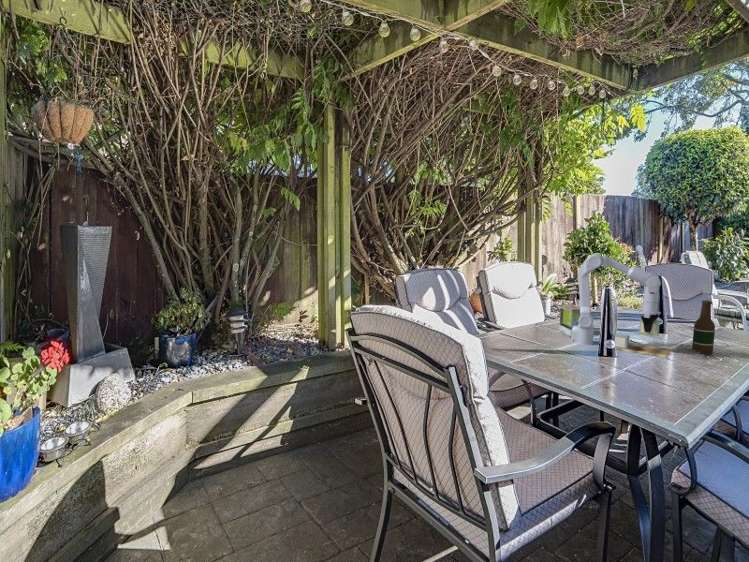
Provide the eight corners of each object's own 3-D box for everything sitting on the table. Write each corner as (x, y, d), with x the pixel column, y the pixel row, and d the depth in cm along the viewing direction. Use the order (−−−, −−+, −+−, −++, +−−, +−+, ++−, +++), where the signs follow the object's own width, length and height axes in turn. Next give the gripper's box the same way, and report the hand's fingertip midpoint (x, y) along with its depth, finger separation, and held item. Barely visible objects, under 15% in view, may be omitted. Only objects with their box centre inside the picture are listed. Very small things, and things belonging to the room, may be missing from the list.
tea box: (589, 337, 233) (591, 309, 232) (570, 337, 233) (571, 309, 232) (576, 330, 248) (578, 304, 247) (558, 330, 248) (560, 304, 247)
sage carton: (638, 334, 205) (639, 320, 204) (641, 332, 208) (642, 318, 208) (656, 336, 200) (657, 322, 200) (658, 334, 204) (659, 320, 203)
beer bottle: (690, 352, 204) (694, 300, 201) (693, 349, 210) (697, 298, 207) (711, 356, 199) (716, 302, 196) (713, 352, 205) (718, 300, 202)
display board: (604, 350, 208) (604, 344, 207) (615, 343, 221) (615, 337, 221) (665, 360, 192) (665, 354, 191) (672, 352, 205) (673, 346, 205)
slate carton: (609, 347, 208) (610, 334, 207) (611, 345, 211) (612, 332, 210) (626, 350, 203) (627, 336, 202) (628, 348, 206) (629, 334, 206)
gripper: (658, 304, 195) (655, 335, 196) (664, 300, 205) (661, 329, 207) (639, 302, 199) (637, 332, 201) (646, 299, 210) (644, 327, 212)
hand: (648, 331), depth 204 cm, fingers closed on sage carton, 5 cm apart
